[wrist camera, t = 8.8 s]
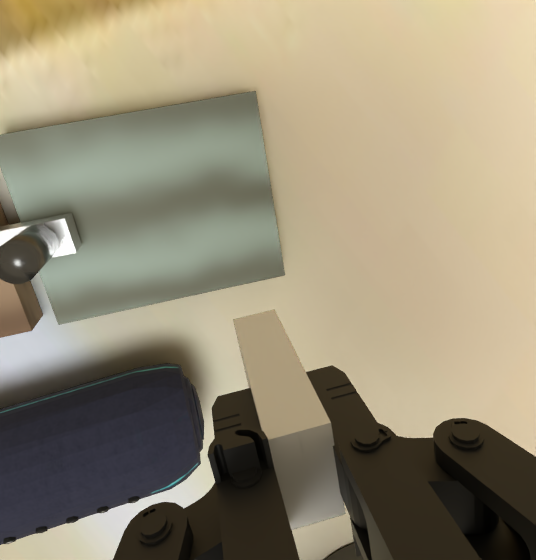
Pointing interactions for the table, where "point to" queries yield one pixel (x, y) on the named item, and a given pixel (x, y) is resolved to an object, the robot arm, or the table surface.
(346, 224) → the table surface
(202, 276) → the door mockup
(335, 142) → the table surface
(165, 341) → the table surface
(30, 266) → the grey piece
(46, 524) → the portable speaker
